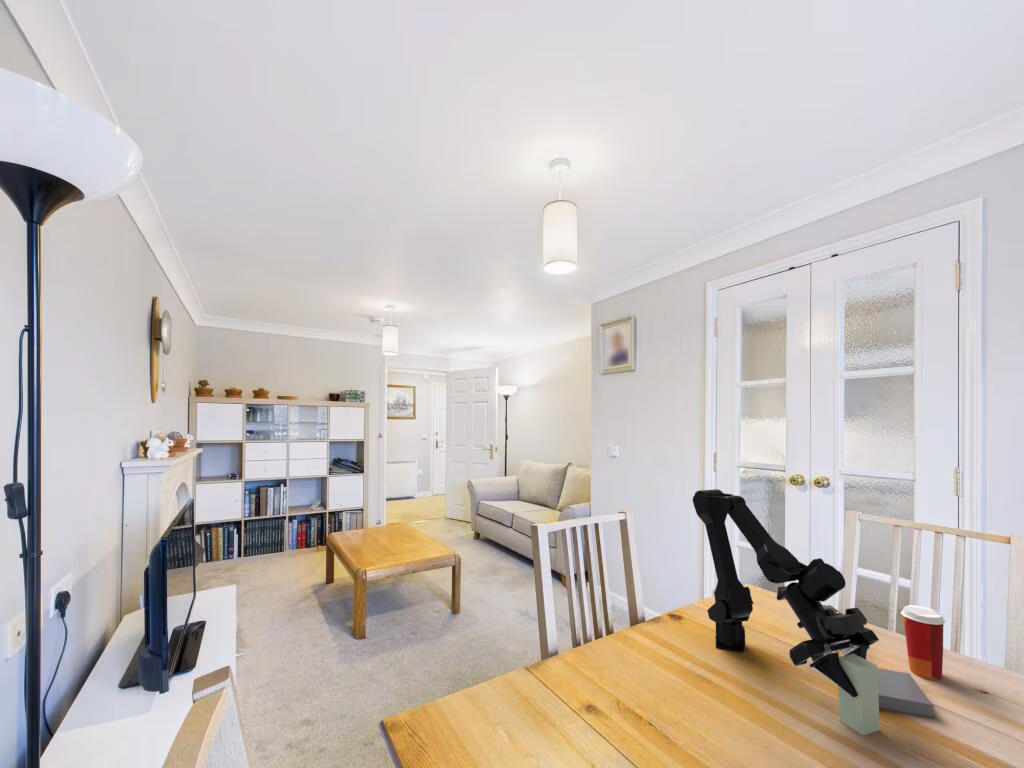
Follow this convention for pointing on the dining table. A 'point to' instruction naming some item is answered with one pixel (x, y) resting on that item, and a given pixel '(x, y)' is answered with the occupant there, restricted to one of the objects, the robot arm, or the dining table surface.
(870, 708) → the sage block
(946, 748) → the dining table surface
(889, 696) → the slate slab
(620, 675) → the dining table surface
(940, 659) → the paper cup
